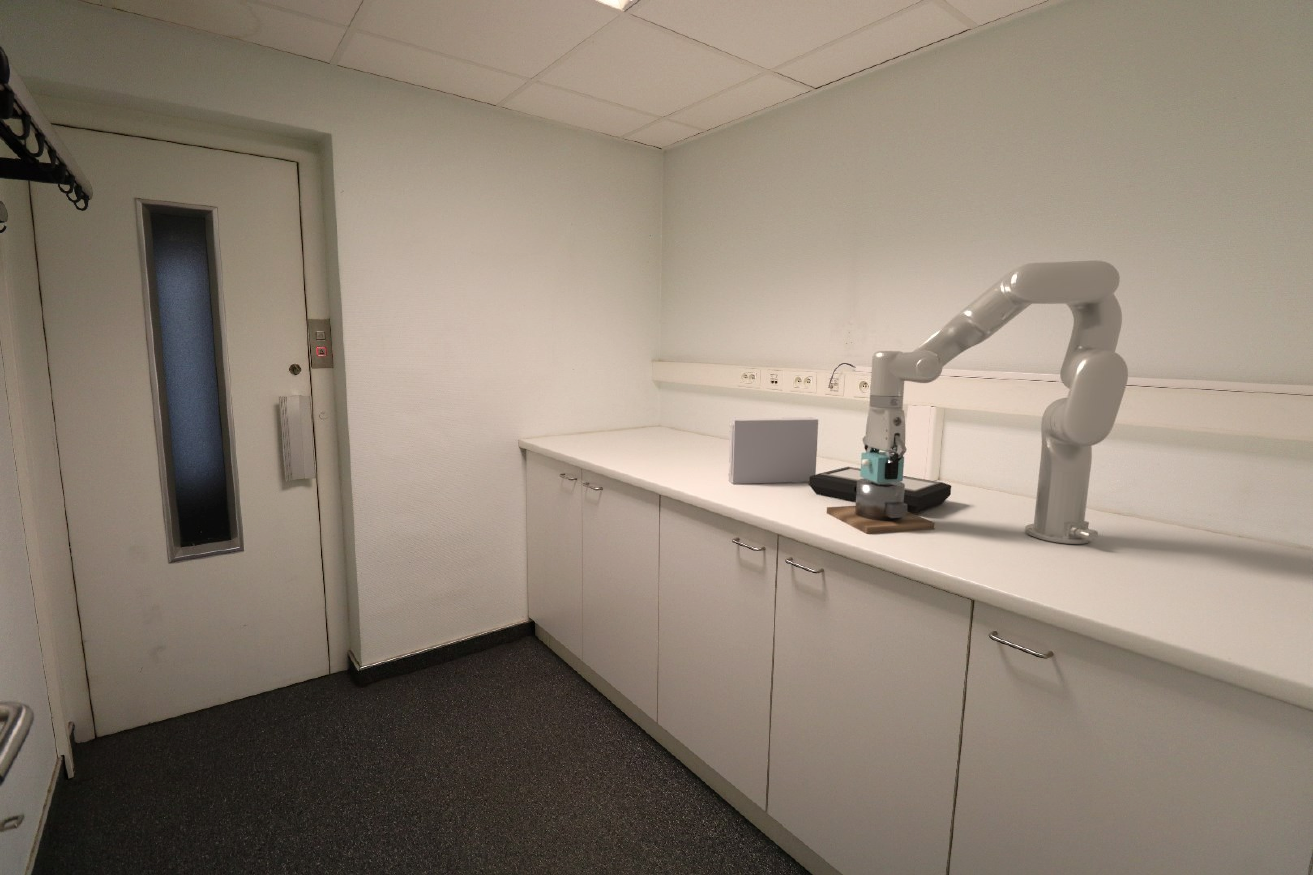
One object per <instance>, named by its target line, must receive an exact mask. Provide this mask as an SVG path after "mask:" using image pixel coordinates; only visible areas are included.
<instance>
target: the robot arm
mask: <svg viewBox="0 0 1313 875" xmlns="http://www.w3.org/2000/svg"><path fill="white" fill-rule="evenodd" d="M1120 277H1121V276H1120V272H1119V271H1118V269H1117V268H1116V267H1115V265H1112V264H1111V263H1109V262H1107V261H1103V260H1097V259H1096V260H1076V261H1052V262H1048V261H1047V262H1031V263H1025V264H1023V265H1020V266H1018V267H1016V268H1014V269H1012V270H1011V271H1009V272H1007V273H1006V274H1005V275H1003V277H1001V278H1000V279H999V280H998V281H996V283H994V284H993V285H991V286H990V287H989V288H988V289H987V290H985V291H984V292H983V293H981V295H979V296H978V297H977V298H976V299H974V300H973V301H972V302H970V303H969V304H968V305H967V306H966V307H965V308H964V309H962V310H961V311H960V312H959V313H958V314H956V315H954V317H952V318H951V320H949V321H948V322H947V323H946V324H945V325H943V327H941V328H940V329H939V330H938V331H937V332H935V333H934V334H933V335H931V336H930V337H929V338H927V339H926V340H925V341H924V342H923V343H922V344H920V345H919V346H918V347H917V348H915V349H914V350H913V351H908V352H903V351H899V350H879V351H876V352H874V354H873V355H872V360H871V374H870V376H871V378H870V388H869V389H870V392H869V404H868V405H869V406H868V408H869V409H868V412H867V418H866V426H865V435H864V437H863V438H862V439H861V440H862V443H863V446H864V447H863V448H864V450H865V453H870V452H885V453H886V457H887V461H888V463H886V464H885V479H887V480H888V479H897V478H898V466H899V463H900V462H901V459H902V457H904V455H905V453H907V447H906V414H905V410H903V408H904V407H903V405H904V392H905V382H911V383H919V384H928V383H932V382H934V381H936V380H937V379H938V378H939V377H940V376H941V375H942V372H943V369H944V368H943V367H945V366H946V365H947V364H948V363H950V362H951V361H952V360H953V359H955V358H956V357H958V356H959V355H960V354H962V353H964V352H965V351H967V350H969V349H971V348H973V347H975V346H977V345H979V344H981V343H983V342H985V341H986V340H988V339H989V338H991V337H992V336H993V335H995V333H997V332H998V331H999V330H1001V329H1002V328H1003V327H1004V326H1006V324H1008V323H1010V321H1012V320H1013V319H1015V317H1016V316H1019V315H1020V314H1021V313H1022V312H1023V311H1024V310H1026V309H1027V308H1028V307H1029V306H1031V305H1032V304H1033V305H1034V304H1035V305H1037V304H1040V305H1043V304H1044V305H1046V304H1047V305H1048V304H1049V305H1053V304H1056V305H1057V304H1058V305H1059V304H1060V305H1061V304H1065V305H1066V306H1067V307H1068V308H1069V310H1070V311H1071V314H1072V317H1073V326H1072V329H1071V336H1070V339H1069V342H1068V346H1067V349H1066V352H1065V356H1064V359H1063V362H1062V364H1061V368H1060V370H1059V371H1060V372H1059V373H1060V374H1059V375H1060V380H1061V382H1062V383H1063V385H1064V386H1065V387H1066V388H1067V389H1069V390H1068V393H1067V396H1066V397H1063V398H1059V399H1056V400H1054V401H1052V402H1051V403H1050V404H1049V405H1048V406H1047V407H1046V408H1045V409H1044V412H1043V414H1042V417H1041V424H1040V426H1041V428H1040V431H1041V451H1040V452H1041V453H1040V463H1039V469H1038V470H1039V471H1038V472H1039V473H1038V479H1037V480H1038V481H1037V491H1036V497H1035V498H1036V500H1035V507H1034V508H1035V510H1034V518H1033V523H1030V524H1027V525H1025V527H1024V529H1025V530H1024V531H1025V533H1026V534H1027V535H1029V536H1031V537H1034V538H1036V539H1039V540H1043V541H1046V542H1047V541H1048V542H1053V543H1056V544H1057V543H1059V544H1060V543H1061V544H1067V545H1068V544H1069V545H1082V544H1083V545H1084V544H1088V543H1090V542H1091V541H1093V540H1094V539H1095V538H1096V537H1098V535H1099V532H1098V531H1097V530H1094V529H1090V528H1089V526H1090V525H1089V524H1090V522H1089V521H1086V519H1085V518H1086V511H1087V510H1086V509H1087V503H1088V502H1087V501H1088V493H1089V486H1090V478H1091V477H1090V475H1091V472H1092V470H1091V469H1092V460H1093V454H1092V452H1093V448H1092V446H1095V445H1098V444H1100V443H1101V442H1103V441H1104V440H1105V439H1106V438H1107V437H1108V436H1109V434H1111V432H1112V430H1113V427H1114V425H1115V422H1116V419H1117V416H1118V414H1119V410H1120V407H1121V404H1122V400H1123V397H1124V394H1125V391H1126V389H1127V388H1126V387H1127V384H1128V380H1129V379H1128V378H1129V368H1128V364H1127V363H1126V361H1125V359H1124V358H1123V357H1122V356H1121V355H1120V354H1119V353H1117V352H1116V350H1117V345H1118V341H1119V337H1120V333H1121V328H1122V325H1123V313H1122V308H1121V305H1120V303H1119V300H1118V299H1117V297H1116V295H1115V292H1116V291H1117V290H1118V288H1119V286H1120V282H1121V280H1120ZM891 453H892V454H894V455H893V456H891Z"/></svg>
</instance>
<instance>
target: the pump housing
mask: <svg viewBox="0 0 1313 875" xmlns="http://www.w3.org/2000/svg"><path fill="white" fill-rule="evenodd" d="M893 455H894V453H891V456H893ZM860 460H861V461H860V469H861V472H860V477H863V478H865V479H868V480H871V481H874V482H876V483H881V482H901V481H903V476H904V466H905V456H903V457H902V459H901V462H900V463H899V466H898V478H897V479H888V480H887V479H885V464H886V463H888V461H887V457H886V453H885V451H879V452H870V453H866V452H861V459H860Z"/></svg>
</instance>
